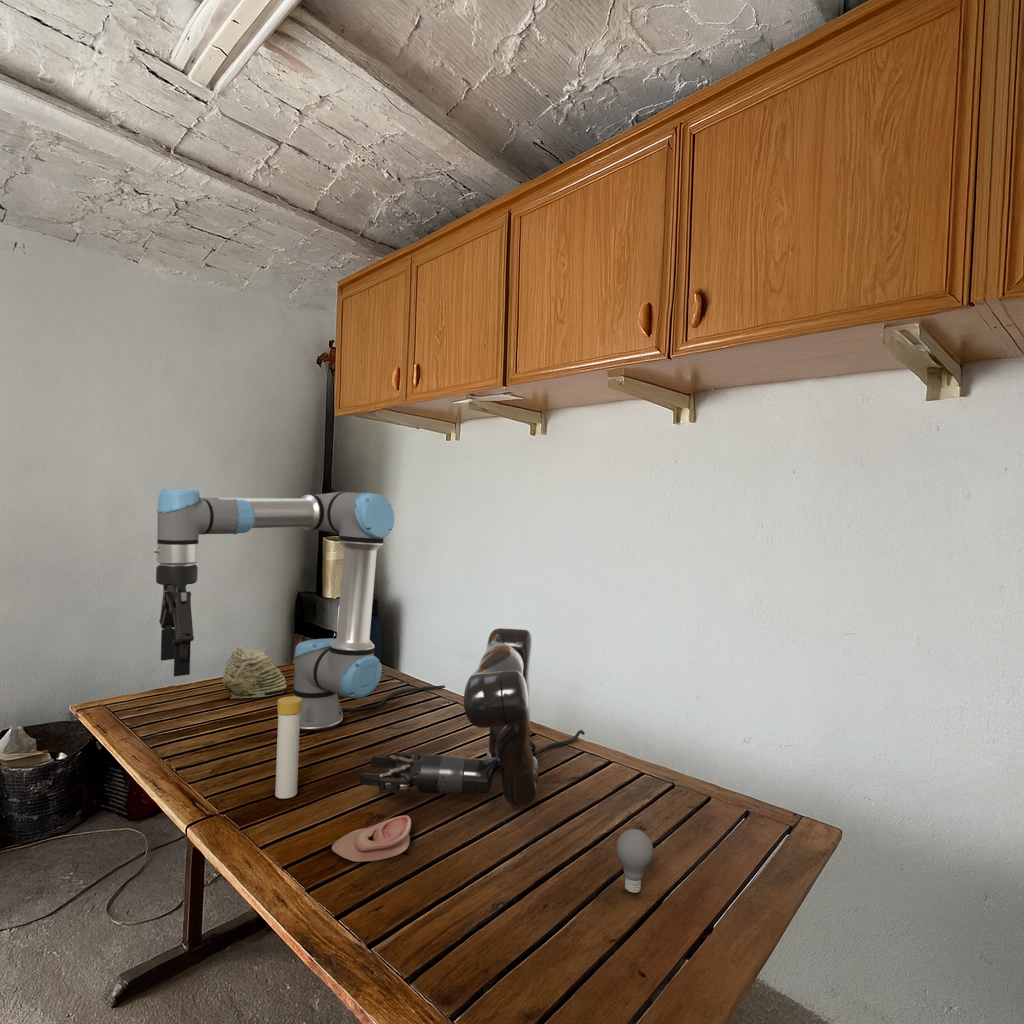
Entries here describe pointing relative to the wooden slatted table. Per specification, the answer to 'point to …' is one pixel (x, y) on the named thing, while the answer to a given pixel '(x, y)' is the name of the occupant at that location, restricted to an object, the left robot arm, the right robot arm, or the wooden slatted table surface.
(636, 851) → the light bulb
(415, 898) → the wooden slatted table surface
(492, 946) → the wooden slatted table surface
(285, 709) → the lid
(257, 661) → the fossil
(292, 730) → the white bottle
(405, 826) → the anatomical model
